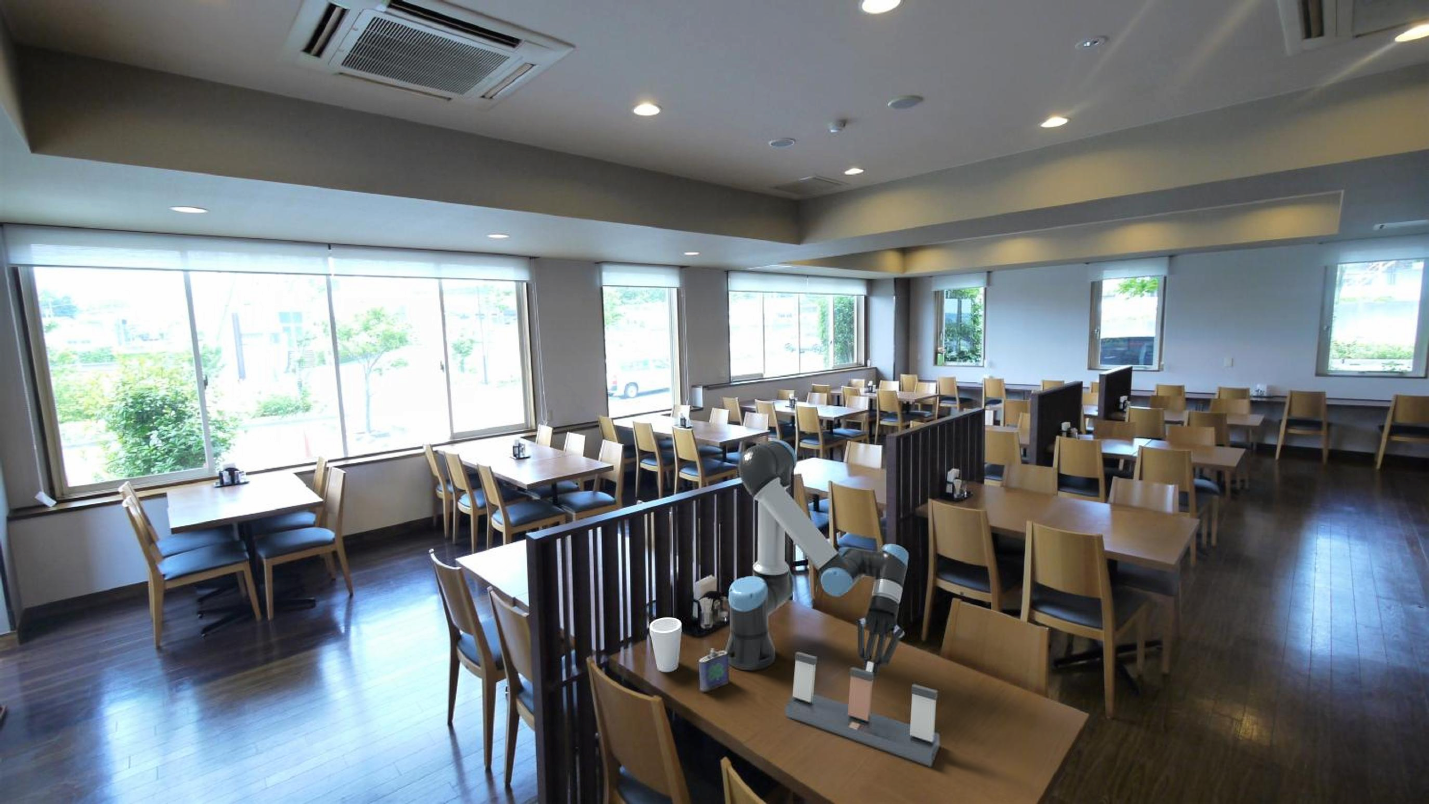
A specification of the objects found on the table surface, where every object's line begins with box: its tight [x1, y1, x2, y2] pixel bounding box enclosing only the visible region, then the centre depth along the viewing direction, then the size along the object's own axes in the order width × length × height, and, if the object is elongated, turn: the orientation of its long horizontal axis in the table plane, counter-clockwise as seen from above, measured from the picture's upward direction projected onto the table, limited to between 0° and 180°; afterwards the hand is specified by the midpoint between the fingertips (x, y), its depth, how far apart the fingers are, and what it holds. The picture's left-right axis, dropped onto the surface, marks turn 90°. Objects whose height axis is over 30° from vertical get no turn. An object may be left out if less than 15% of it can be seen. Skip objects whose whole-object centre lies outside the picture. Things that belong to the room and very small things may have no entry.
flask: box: [698, 647, 730, 693], centre depth 165 cm, size 9×3×11 cm, turn 121°
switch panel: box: [784, 693, 940, 768], centre depth 144 cm, size 8×36×3 cm, turn 57°
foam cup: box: [649, 617, 683, 673], centre depth 176 cm, size 10×9×13 cm
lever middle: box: [848, 666, 875, 721], centre depth 145 cm, size 2×5×11 cm, turn 57°
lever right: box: [909, 683, 938, 742], centre depth 137 cm, size 2×5×11 cm, turn 57°
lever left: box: [792, 651, 818, 702], centre depth 153 cm, size 2×5×11 cm, turn 57°
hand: (866, 689), depth 148 cm, fingers closed
